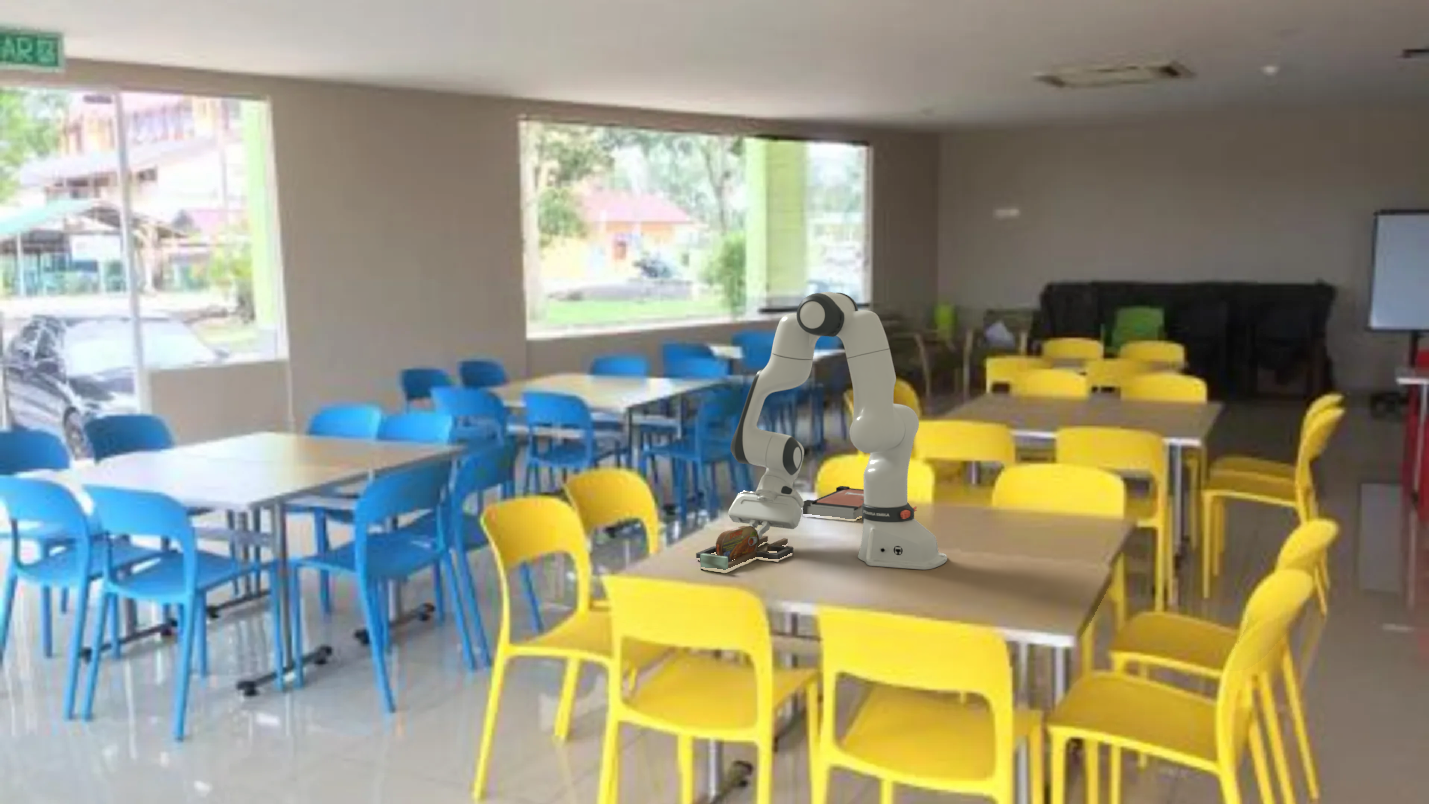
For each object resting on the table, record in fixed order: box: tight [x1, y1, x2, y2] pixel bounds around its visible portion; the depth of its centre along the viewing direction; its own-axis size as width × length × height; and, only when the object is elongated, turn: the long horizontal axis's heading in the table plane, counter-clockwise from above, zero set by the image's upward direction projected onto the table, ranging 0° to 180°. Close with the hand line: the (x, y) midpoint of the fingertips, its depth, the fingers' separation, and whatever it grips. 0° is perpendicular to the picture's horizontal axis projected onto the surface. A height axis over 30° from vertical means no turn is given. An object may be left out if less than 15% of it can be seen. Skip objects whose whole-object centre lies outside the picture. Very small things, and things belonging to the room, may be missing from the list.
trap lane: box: [695, 535, 794, 570], centre depth 308 cm, size 19×31×4 cm, turn 147°
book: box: [802, 485, 864, 519], centre depth 359 cm, size 26×18×5 cm
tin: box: [715, 525, 759, 562], centre depth 305 cm, size 15×3×8 cm, turn 139°
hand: (754, 537), depth 311 cm, fingers closed
